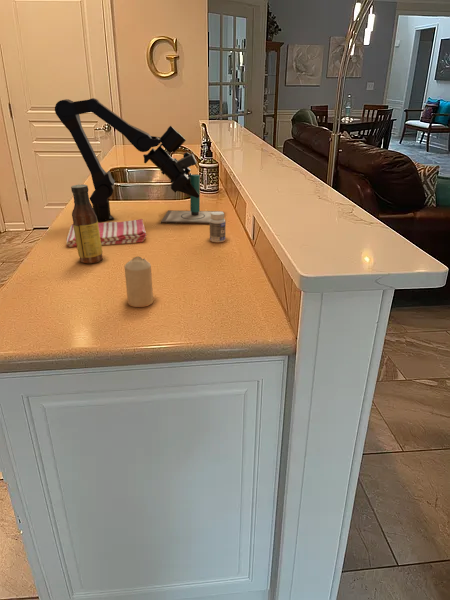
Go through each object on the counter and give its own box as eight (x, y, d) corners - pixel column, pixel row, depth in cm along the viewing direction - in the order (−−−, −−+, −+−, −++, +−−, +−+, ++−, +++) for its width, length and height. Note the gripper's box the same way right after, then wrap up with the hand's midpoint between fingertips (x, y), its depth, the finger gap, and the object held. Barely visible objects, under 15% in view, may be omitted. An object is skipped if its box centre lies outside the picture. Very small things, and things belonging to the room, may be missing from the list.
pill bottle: (223, 243, 140) (223, 215, 136) (208, 242, 141) (207, 214, 137) (226, 238, 144) (227, 211, 140) (211, 237, 145) (211, 210, 141)
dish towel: (147, 242, 140) (146, 231, 139) (65, 247, 136) (64, 236, 134) (143, 226, 155) (142, 215, 154) (70, 230, 151) (68, 220, 149)
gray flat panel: (160, 223, 158) (160, 221, 158) (168, 211, 172) (168, 209, 172) (220, 224, 157) (220, 222, 157) (222, 212, 171) (222, 210, 170)
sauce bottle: (107, 257, 128) (99, 184, 120) (94, 265, 123) (85, 189, 114) (87, 255, 130) (77, 182, 122) (73, 262, 125) (62, 187, 116)
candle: (129, 297, 106) (125, 254, 101) (153, 296, 106) (151, 254, 102) (126, 307, 101) (122, 263, 96) (152, 307, 101) (149, 263, 97)
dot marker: (189, 215, 165) (189, 175, 159) (191, 213, 167) (191, 174, 162) (198, 216, 164) (198, 176, 158) (200, 213, 167) (200, 174, 161)
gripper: (179, 149, 147) (215, 184, 152) (183, 141, 164) (215, 174, 169) (156, 174, 150) (191, 208, 155) (162, 165, 167) (194, 196, 172)
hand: (199, 195), depth 163 cm, fingers closed on dot marker, 3 cm apart
